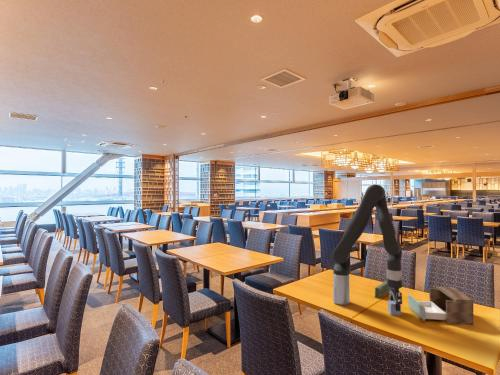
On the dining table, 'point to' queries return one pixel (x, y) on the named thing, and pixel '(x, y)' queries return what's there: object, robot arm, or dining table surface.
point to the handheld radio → (381, 290)
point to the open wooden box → (453, 305)
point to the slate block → (393, 308)
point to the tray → (426, 309)
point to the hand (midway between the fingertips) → (395, 307)
